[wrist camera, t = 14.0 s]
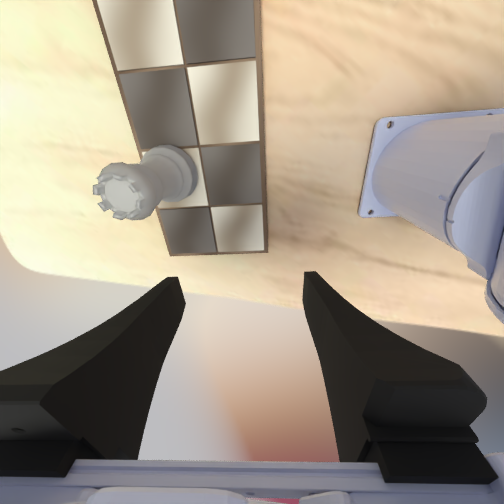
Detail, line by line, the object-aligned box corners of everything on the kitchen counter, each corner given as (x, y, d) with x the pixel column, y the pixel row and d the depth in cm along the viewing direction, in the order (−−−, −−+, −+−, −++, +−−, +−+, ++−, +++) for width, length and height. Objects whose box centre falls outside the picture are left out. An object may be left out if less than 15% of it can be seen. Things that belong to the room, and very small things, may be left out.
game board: (257, -56, 12) (257, -70, 11) (267, 248, 22) (268, 253, 21) (89, -32, 13) (76, -44, 12) (172, 252, 23) (169, 257, 22)
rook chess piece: (206, 192, 19) (173, 226, 12) (162, 204, 19) (106, 243, 12) (186, 137, 16) (131, 138, 10) (137, 153, 17) (53, 165, 10)
